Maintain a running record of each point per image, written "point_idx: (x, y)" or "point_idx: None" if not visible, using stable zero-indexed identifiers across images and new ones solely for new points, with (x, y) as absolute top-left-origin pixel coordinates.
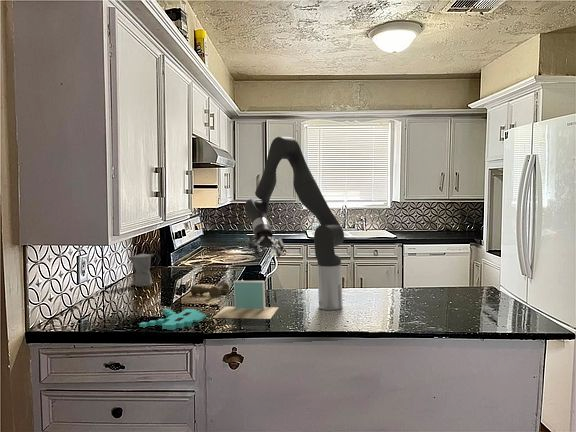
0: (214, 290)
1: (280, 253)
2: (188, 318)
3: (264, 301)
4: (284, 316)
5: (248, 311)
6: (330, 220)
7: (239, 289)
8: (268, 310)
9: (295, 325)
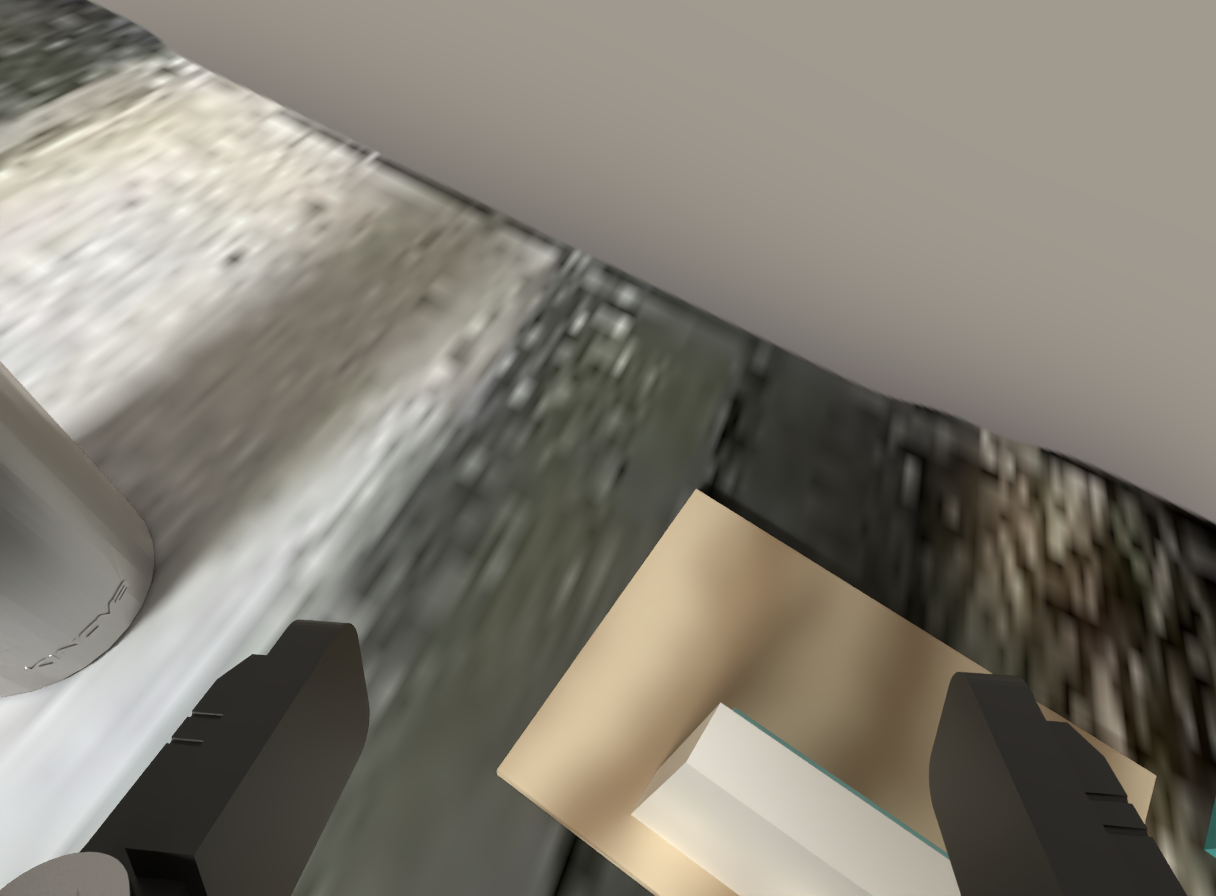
0: None
1: (271, 658)
2: None
3: (660, 773)
4: (544, 557)
5: None
6: None
7: None
8: (630, 718)
9: (569, 350)
